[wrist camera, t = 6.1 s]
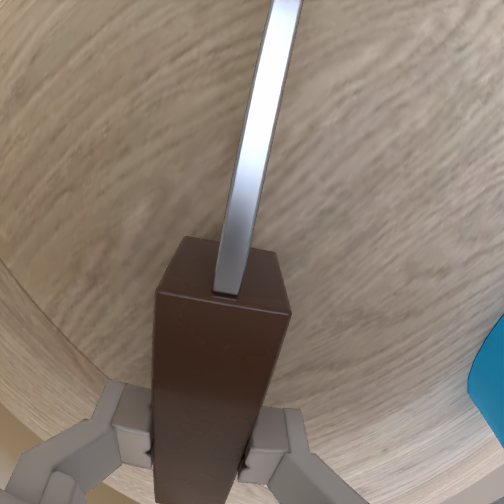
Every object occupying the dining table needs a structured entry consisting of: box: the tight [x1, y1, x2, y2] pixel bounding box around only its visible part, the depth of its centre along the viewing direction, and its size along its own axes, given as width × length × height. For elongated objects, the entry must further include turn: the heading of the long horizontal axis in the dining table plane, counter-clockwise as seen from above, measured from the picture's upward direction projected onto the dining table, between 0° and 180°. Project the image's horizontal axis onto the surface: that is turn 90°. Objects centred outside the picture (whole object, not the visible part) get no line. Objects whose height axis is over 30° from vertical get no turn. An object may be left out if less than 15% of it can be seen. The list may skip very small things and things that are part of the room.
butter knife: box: [151, 0, 304, 504], centre depth 6 cm, size 2×20×3 cm, turn 168°
